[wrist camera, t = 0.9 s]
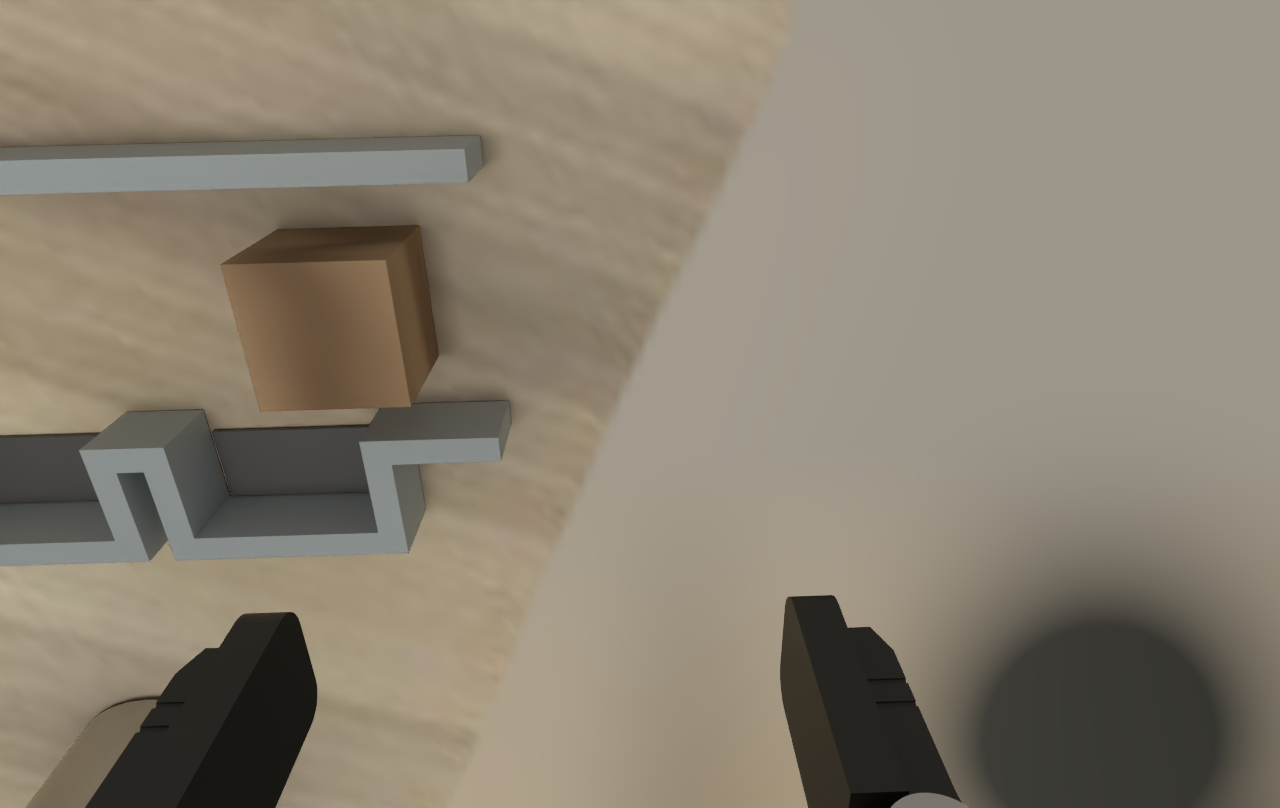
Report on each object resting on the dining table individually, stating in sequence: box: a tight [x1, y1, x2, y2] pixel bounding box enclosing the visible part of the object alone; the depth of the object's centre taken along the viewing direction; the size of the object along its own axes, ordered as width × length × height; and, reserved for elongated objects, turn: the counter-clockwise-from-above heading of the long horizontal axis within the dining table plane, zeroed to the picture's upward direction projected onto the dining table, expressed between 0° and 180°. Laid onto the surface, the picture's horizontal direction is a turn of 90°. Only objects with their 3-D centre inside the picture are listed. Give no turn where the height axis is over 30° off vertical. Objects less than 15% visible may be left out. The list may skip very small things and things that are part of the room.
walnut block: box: [221, 225, 439, 411], centre depth 27 cm, size 5×5×4 cm
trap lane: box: [0, 135, 511, 566], centre depth 28 cm, size 23×15×3 cm, turn 91°
